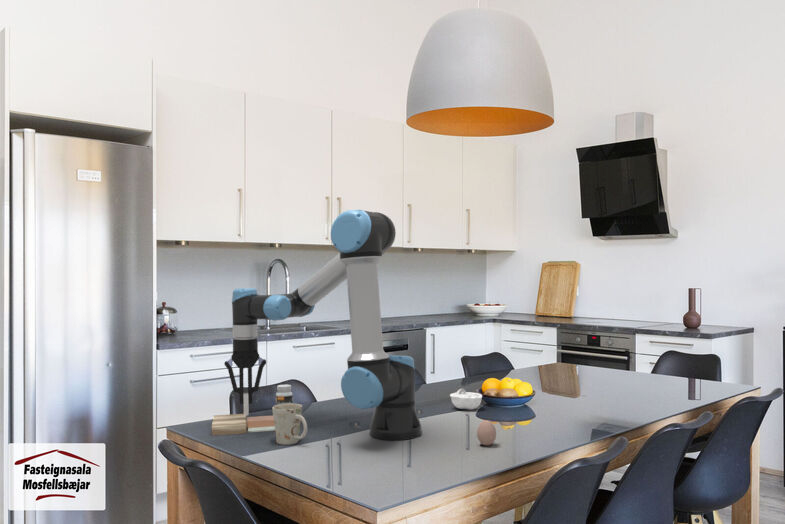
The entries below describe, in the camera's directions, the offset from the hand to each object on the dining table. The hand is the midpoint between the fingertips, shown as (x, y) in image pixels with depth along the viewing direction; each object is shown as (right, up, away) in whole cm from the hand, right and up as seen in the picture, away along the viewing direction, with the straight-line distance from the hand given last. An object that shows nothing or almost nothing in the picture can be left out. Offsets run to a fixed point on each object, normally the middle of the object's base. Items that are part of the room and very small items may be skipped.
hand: (246, 414), depth 205 cm
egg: (+71, -3, -25) cm, 75 cm away
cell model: (+71, -3, +21) cm, 74 cm away
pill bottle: (+9, -4, +15) cm, 18 cm away
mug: (+17, -4, -20) cm, 26 cm away
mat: (+6, -4, +2) cm, 8 cm away
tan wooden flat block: (-5, -4, -1) cm, 6 cm away
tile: (+5, -3, +1) cm, 6 cm away
